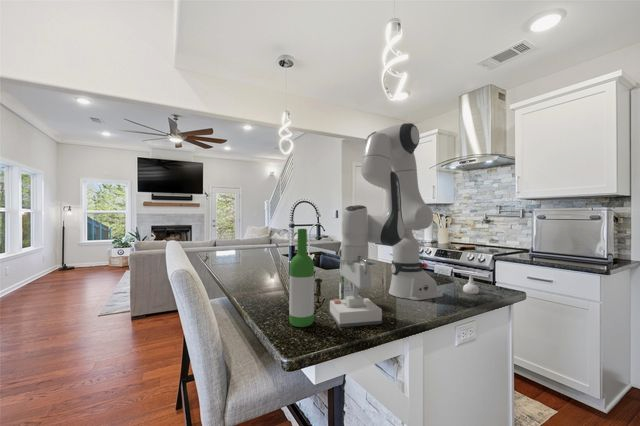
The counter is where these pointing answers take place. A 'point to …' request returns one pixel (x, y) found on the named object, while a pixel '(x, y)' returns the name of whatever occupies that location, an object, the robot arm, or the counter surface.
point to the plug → (354, 301)
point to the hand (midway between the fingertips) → (354, 295)
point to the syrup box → (344, 287)
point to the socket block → (355, 313)
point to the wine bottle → (301, 285)
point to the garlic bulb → (471, 287)
